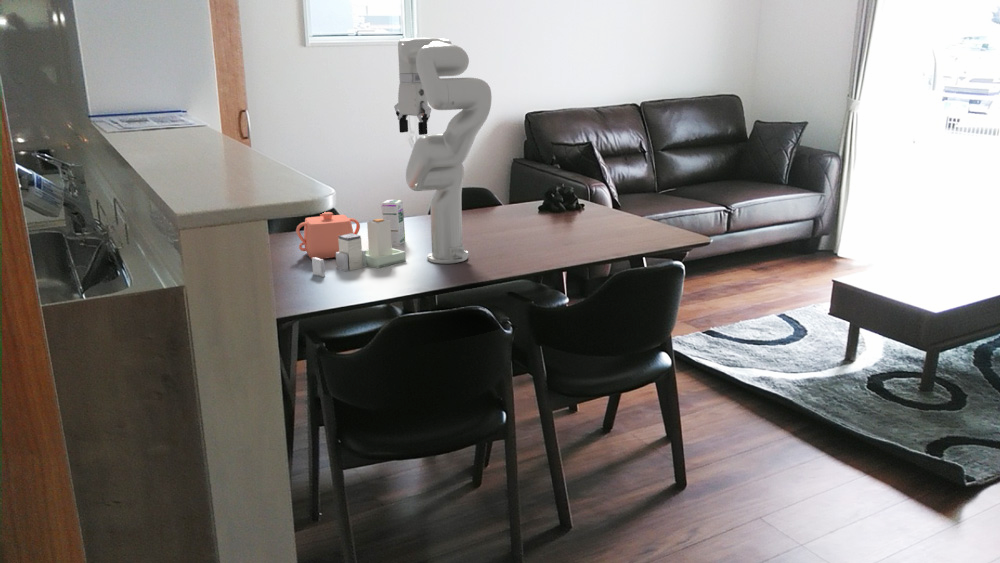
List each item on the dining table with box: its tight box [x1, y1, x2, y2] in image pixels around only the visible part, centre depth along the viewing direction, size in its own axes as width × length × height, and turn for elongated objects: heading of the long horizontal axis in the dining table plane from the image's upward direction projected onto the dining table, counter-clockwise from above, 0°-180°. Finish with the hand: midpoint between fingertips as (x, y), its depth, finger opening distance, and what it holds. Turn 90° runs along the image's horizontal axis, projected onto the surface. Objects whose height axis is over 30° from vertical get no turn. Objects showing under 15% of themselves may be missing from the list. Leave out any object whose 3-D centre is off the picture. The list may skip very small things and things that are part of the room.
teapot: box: [295, 211, 361, 260], centre depth 255 cm, size 20×19×14 cm
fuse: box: [366, 217, 393, 257], centre depth 244 cm, size 5×5×12 cm
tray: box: [364, 247, 407, 269], centre depth 245 cm, size 11×11×3 cm
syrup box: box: [380, 199, 406, 246], centre depth 265 cm, size 6×6×14 cm
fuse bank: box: [311, 232, 367, 278], centre depth 235 cm, size 5×16×10 cm, turn 135°
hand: (413, 133), depth 259 cm, fingers open, 9 cm apart
